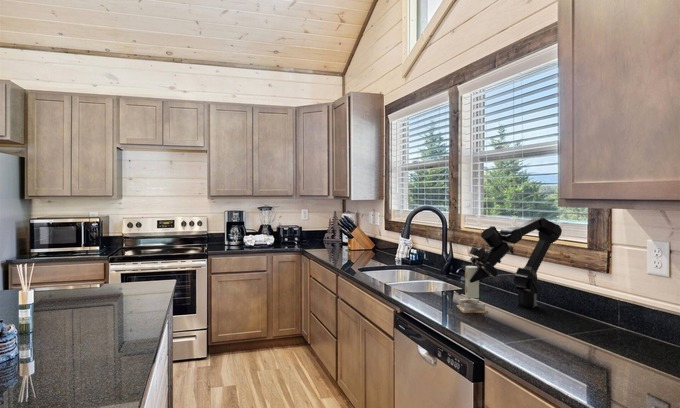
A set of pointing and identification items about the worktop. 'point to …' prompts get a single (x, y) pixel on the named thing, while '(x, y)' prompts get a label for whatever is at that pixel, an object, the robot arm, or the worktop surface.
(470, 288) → the grey-green rectangular block
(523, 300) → the robot arm
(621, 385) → the worktop surface
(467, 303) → the hinge clip plate
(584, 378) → the worktop surface
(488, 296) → the worktop surface
